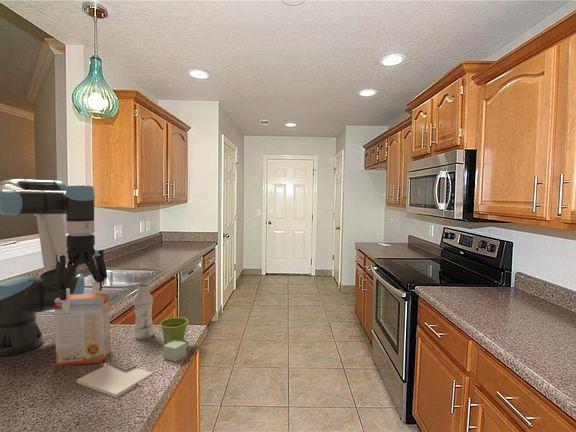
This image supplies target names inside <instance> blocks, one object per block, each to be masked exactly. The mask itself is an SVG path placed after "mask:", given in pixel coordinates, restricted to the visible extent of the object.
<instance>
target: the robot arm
mask: <svg viewBox="0 0 576 432" xmlns="http://www.w3.org/2000/svg"><path fill="white" fill-rule="evenodd" d="M94 190H95V188H94V187H93V185H90V184H67V185H66V184H65V182H63V181H61V180H54V179H30V178H29V179H26V178H14V179H13V178H12V179H6V180H1V181H0V215H2V216H3V215H4V216H5V215H6V216H8V215H9V216H18V215H19V216H22V215H25V216H26V215H33V216H35V217H36V222H37V229H38V236H39V244H40V249H41V257H42V258H41V259H42V264H43V271H42V273H40V275H39V278H38V279H36V277H35V276H33V275H26V276H25V275H24V276H18V277H17V276H16V277H14V278H9V279H6V280H3V281H0V357H5V356H7V357H8V356H12V355H17V354H21V353H25V352H27V351H30V350H33V349H35V348H37V347H38V346H40V345H41V344H42V343H43V339H44V338H43V333H42V331H41V329H40V326H39V325H38V323H37V314H38V313H42V312H47V311H48V312H49V311H53V310H54V311H55V299H57V298H59V299H60V300H62V310H66V311H69V310H70V294H85V286H86V285H85V277H84V274H83V273H78V270H77V268H79V266H80V265H83V264H85V266H87V269H88V270H89V272H90V274H91V275H92V278H93V281H92V280H91V290H92V291H91V294H101V291H102V288H103V286H102V285H103V282H104V281H105V279H107V278H108V277H109V276H108V272H107V268H106V264H105V263H106V262H105V260H104V249H99V248H97V249H95V244H96V243H95V242H96V241H95V239H96V237H95V235H94V233H95V197H96V196H95V191H94ZM63 215H65V217H66V218H65V222H64V216H63ZM93 257H94V258H95V260H94V258H93Z"/></svg>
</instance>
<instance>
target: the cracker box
mask: <svg viewBox="0 0 576 432" xmlns="http://www.w3.org/2000/svg"><path fill="white" fill-rule="evenodd" d="M110 309H111V308H110V293H100V294H92V293H84V294H70V310H69V311H66V310H62V300H60V299H59V298H57V299H55V309H54V331H55V334H54V335H55V337H54V339H55V365H56V366H63V365H64V366H66V365H70V366H71V365H85V364H86V365H88V364H103V363H105V357H107V355H109V354H110V352H111V318H110V316H111V314H110Z"/></svg>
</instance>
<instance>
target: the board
mask: <svg viewBox="0 0 576 432" xmlns="http://www.w3.org/2000/svg"><path fill="white" fill-rule="evenodd" d="M151 375H153V372H151V371H148V370H145V369H141V368H138V367H135V366H134V367H131V368H129V369H126V370H125V369H123V368H121V367H119V366H116V365H115V364H112V363H108V364H106V365H104V366H102V367H100V368H99V369H95V370H94V371H92V372H89V373H88V374H86V375H85V374H84V376H80V378H77V379H76V383H77V384H79V385H82V386H84V387H87V388H89V389H92V390H95V391H97V392H100V393H102V394H105V395H108V396H111V397H113V398H118V397H120V396H121V395H123V394H125V393H127V392H128V391H130V390H132V389H133V388H136V387H138V386H139V383H140V381H141V382H142V381H143V380H144V379H147V378H148V377H150V376H151Z"/></svg>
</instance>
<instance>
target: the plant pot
mask: <svg viewBox="0 0 576 432" xmlns="http://www.w3.org/2000/svg"><path fill="white" fill-rule="evenodd" d="M188 323H189V319H188V318H185V317H180V316H179V317H177V316H176V317H169V318H166V319H164V320H162V321H160V322H159V326H160V327H161V330H162V334H163V335H162V336H163V341H164V343H163V344H164V345H166V344H167V343H169V342H171V341H173V340H178V341H182V342H185V335H186V329H187V326H188Z"/></svg>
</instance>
